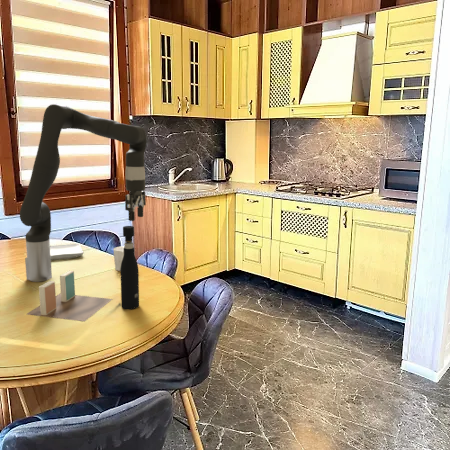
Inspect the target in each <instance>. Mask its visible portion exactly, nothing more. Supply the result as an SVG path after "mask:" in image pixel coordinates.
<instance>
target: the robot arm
mask: <svg viewBox="0 0 450 450" xmlns="http://www.w3.org/2000/svg"><path fill="white" fill-rule="evenodd" d="M42 117H43V118H42V126H41V133H40V139H39V143H38V147H37V152H36V155H35V158H34V164H33V167H32V171H31V176H30V179H29V182H28V187H27V191H26V193H25V196H24V199H23V202H22V204H21V207H20V208H19V209H20V211H19V219H20V221H21V223H22V224H23V225H24V226H26V227H30V228H29V230H28V231H27V232H26V234H25V246H26V257H25V259H24V260H25V261H24V263H25V276H26V280H28V281H30V282H36V283H37V282H44V281H45V282H46V281H49V280H50V279H52V278H53V274H52V260H51V255H50V246H51V242H50V235H51V233H52V215H51V210H50V207H49V205H47V204H46V203H45V202H44V198H45V195H46V194H47V192H48V191H49V189H50V188H51V187H52V185H53V184H54V183H55V181H56V178H57V175H58V172H59V169H60V164H61V156H60V152H59V139H60V137H61V136H60V135H61V132H62V130H67V129H72V130H82V131H85V132H89V133H91V134H94V135H96V136H99V137H102V138H107V139H111V140H116V141H119V142H121V143H124V144H128V145H129V147H128V148H129V150H128V151H126V153H125V171H124V173H125V176H124V177H125V191H129V194H125V196H124V197H125V203H124V204H125V209H124V210H125V211H128V221H129V222H134V221H135V220H136V217H135V209H136V207H137V209H136V210H137V217H138V218H143V217H144V208H145V206H146V191H145V190H146V169H145V152H146V147H147V140H148V139H147V133H146V131H145V129H144V127H142V126H140V125H130V124H126V123H121V122H119V121H117V120H112V119H109V118H103V117H100V116H95V115H94V116H93V115H89V114H86V113H83V112H81V111H78V110H76V109H74V108H72V107H69V106H67V105H64V104H57V103H52V104H49V105H48V106H47V107H46V109H45V110H44V114H43V116H42Z"/></svg>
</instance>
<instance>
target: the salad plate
mask: <svg viewBox="0 0 450 450" xmlns="http://www.w3.org/2000/svg"><path fill="white" fill-rule="evenodd" d="M83 254H84V251H83V249H82V246H81V244H80V243H65V244H56V245H55V244H54V245H50V255H51V261H53V260H64V259H74V258H77V257H80V256H82V255H83Z"/></svg>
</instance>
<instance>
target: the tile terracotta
mask: <svg viewBox="0 0 450 450" xmlns="http://www.w3.org/2000/svg"><path fill="white" fill-rule="evenodd" d="M38 293H39V294H38V296H39V297H38V298H39V306H40V311H41V315H47V314H49V313H50V312H52V311H53V310H55V309H56V296H57V295H56V293H57V292H56V282H55V281H54V280H48V281H47V282H45V283H43V284H42V285H40V286H38Z"/></svg>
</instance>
